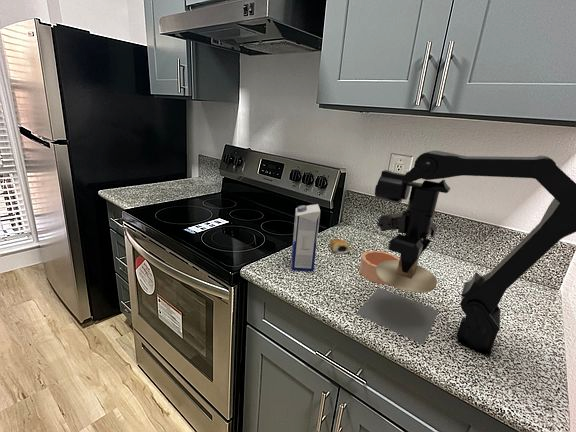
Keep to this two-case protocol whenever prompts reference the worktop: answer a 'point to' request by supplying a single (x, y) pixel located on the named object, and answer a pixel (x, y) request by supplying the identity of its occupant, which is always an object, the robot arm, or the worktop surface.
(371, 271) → the bowl
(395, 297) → the mat
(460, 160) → the robot arm
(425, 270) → the lid
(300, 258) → the milk carton
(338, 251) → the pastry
